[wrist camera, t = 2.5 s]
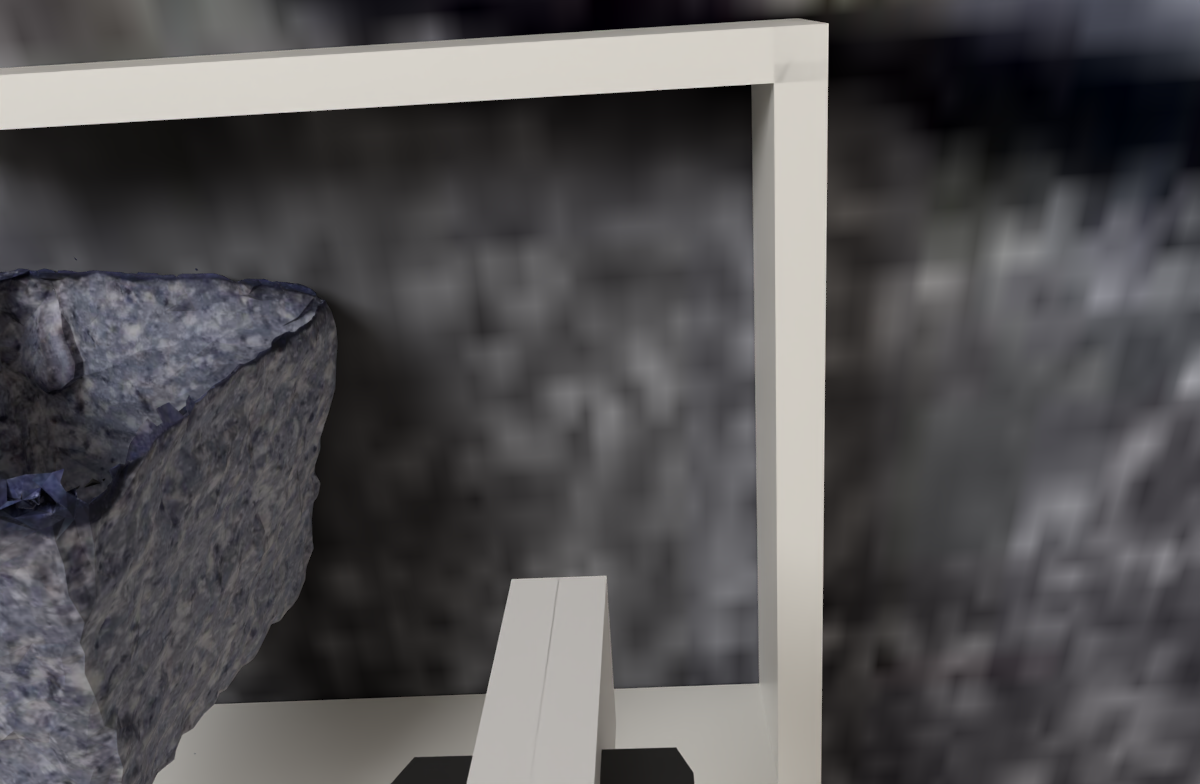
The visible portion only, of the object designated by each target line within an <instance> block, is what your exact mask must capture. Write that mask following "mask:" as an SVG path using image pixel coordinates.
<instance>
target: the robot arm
mask: <svg viewBox="0 0 1200 784" xmlns="http://www.w3.org/2000/svg"><path fill="white" fill-rule="evenodd" d="M615 739H616V712H615V697H614V682H613V667H612V652H611V636H610V621H609V606H608V591H607V576H584V577H557V578H529V579H512V580H511V585H510V589H509V594H508V598H507V603H506V607H505V612H504V616H503V621H502V625H501V630H500V634H499V639H498V643H497V648H496V653H495V657H494V662H493V666H492V671H491V675H490V680H489V684H488V689H487V693H486V698H485V702H484V707H483V711H482V716H481V720H480V725H479V729H478V734H477V739H476V743H475V748H474V752H473V755H472V756H436V757H414V758H413V759H412V760H411V761H410V762H409V764H408V765H407V766H406V767H405V768H404V769H403V770H402V771H401V773H400V774H399V775H398V776H397V777H396V778H395V779H394V780H393V782H392V783H391V784H694V773H693V771H692V770H691V768H690V767H689V765H688V764H687V762H686V761H685V760H684V758H683V757H682V755H681V754H680V752H679V751H678V749H677V748H676V747H670V748H634V749H615Z"/></svg>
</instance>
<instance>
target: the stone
mask: <svg viewBox="0 0 1200 784" xmlns="http://www.w3.org/2000/svg"><path fill="white" fill-rule="evenodd" d="M75 260H77V259H76V258H75ZM195 270H197V269H195ZM53 289H54V291H53ZM11 318H13V319H14V320H15V321H14V320H13V319H11ZM16 321H17V322H16ZM19 323H20V324H19ZM22 325H23V326H22ZM336 359H337V331H336V325H335V322H334V318H333V315H332V311H331V309H330V308H329V306H328V305H327V303H326V301H325V300H322V299H321V298H319V297H318V296H316V293H315V292H314V291H313V290H311V289H310V288H308V287H306V286H304V285H301V284H296V283H286V282H278V281H276V282H270V281H268V280H265V279H262V280H261V279H245V280H241V281H238V282H236V281H232V280H230V279H228V278H226V277H224V276H221V275H218V274H180V275H178V276H177V277H176V276H174V275H158V274H157V273H142V272H138V273H137V274H134V273H130V274H126V273H122V272H107V271H87V272H73V271H65V270H63V271H58V272H57V273H56V272H54V271H52V270H48V269H41V270H38V271H30V270H28V269H17V270H14V271H8V272H0V784H153V782H154V779H155V777H156V775H157V773H159V772H160V771H161V770H162V769H163V768H165V767H166V766H167V765H168V764H169V763H171V762H172V761H173V760H174V759H175V753H176V749H177V747H178V744H179V742H180V739H181V737H182V735H183V734H185V733H186V732H188V731H190V730H191V729H193V728H194V727H195V726H196V724H197V723H198V721H199V720H200V719H201V717H202V716H203V715H204V713H206V712H207V711H208V710H209V709H210V708H211V707H212V706H213V705H214V704H216V703H215V702H216V701H217V698H218V696H219V693H221V692H222V691H224V690H226V689H227V688H228V686H229V685H230V683H231V682H232V680H233V679H234V677H235V676H236V674H237V673H238V671H239V670H240V668H241V667H242V666H244V665H246V664H248V663H249V662H250V661H251V660H252V659H254V657H255V656H256V654H257V653H258V651H259V649H260V647H261V645H262V643H263V641H264V639H265V637H266V635H267V632H268V630H269V628H270V626H271V624H273V623H276V622H279V621H280V620H281V619H282V617H283V616H284V615H285V613H286V612H287V611H288V609H290V608H291V607H292V606H293V604H294V603H295V602H296V600H297V599H298V596H299V594H300V591H301V589H302V586H303V584H304V581H305V577H306V568H307V564H308V561H309V559H310V556H311V554H312V551H313V549H314V547H313V541H312V512H313V504H314V501H315V499H316V498H317V496H318V493H319V488H320V481H319V479H318V477H317V475H316V473H315V464H316V461H317V458H318V455H319V451H320V437H321V434H322V431H323V427H324V424H325V421H326V418H327V415H328V413H329V410H330V406H331V402H332V398H333V395H334V391H335V383H336ZM38 396H39V399H38ZM194 754H196V753H194Z"/></svg>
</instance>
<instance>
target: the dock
mask: <svg viewBox="0 0 1200 784" xmlns="http://www.w3.org/2000/svg"><path fill="white" fill-rule="evenodd" d="M828 27H829V23H823V22H817V21H810V20H804V19H798V18H794V19H778V20H762V21H746V22H730V23H714V24H698V25H682V26H666V27H650V28H634V29H618V30H602V31H586V32H571V33H555V34H539V35H523V36H507V37H491V38H475V39H459V40H443V41H427V42H411V43H395V44H379V45H363V46H347V47H331V48H315V49H299V50H283V51H267V52H252V53H236V54H220V55H204V56H188V57H172V58H156V59H140V60H124V61H108V62H92V63H76V64H60V65H44V66H28V67H12V68H0V130H5V129H22V128H38V127H55V126H72V125H88V124H105V123H121V122H138V121H154V120H171V119H188V118H204V117H221V116H237V115H254V114H270V113H287V112H304V111H320V110H337V109H353V108H370V107H386V106H403V105H420V104H436V103H453V102H469V101H486V100H502V99H519V98H536V97H552V96H569V95H585V94H602V93H618V92H635V91H652V90H668V89H685V88H701V87H718V86H734V85H751V97H752V174H753V251H754V328H755V405H756V482H757V559H758V636H759V683H758V684H731V685H705V686H679V687H653V688H626V689H614V697H615V712H616V739H615V749H634V748H670V747H676V748H677V749H678V751H679V752H680V754H681V755H682V757H683V758H684V760H685V761H686V762H687V764H688V765H689V767H690V768H691V770H692V771H693V773H694V784H821V733H822V632H823V531H824V430H825V329H826V229H827V128H828ZM485 698H486V694H469V695H443V696H416V697H390V698H364V699H338V700H312V701H285V702H259V703H233V704H214V705H213V706H212V707H211V708H210V709H209V710H208V711H207V712H206V713H204V715H203V716H202V717H201V719H200V720H199V721H198V723H197V724H196V726H195V727H194V728H193V729H191V730H190V731H188V732H186V733H185V734H183V735H182V737H181V739H180V742H179V744H178V747H177V749H176V753H175V759H174V760H173V761H172V762H171V763H169V764H168V765H167V766H166V767H165V768H163V769H162V770H161V771H160V772H159V773H157V775H156V777H155V779H154V782H153V784H391V783H392V782H393V780H394V779H395V778H396V777H397V776H398V775H399V774H400V773H401V771H402V770H403V769H404V768H405V767H406V766H407V765H408V764H409V762H410V761H411V760H412V759H413V758H414V757H436V756H472V755H473V752H474V748H475V743H476V739H477V734H478V729H479V725H480V720H481V716H482V711H483V707H484V702H485ZM194 753H196V754H194Z"/></svg>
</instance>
